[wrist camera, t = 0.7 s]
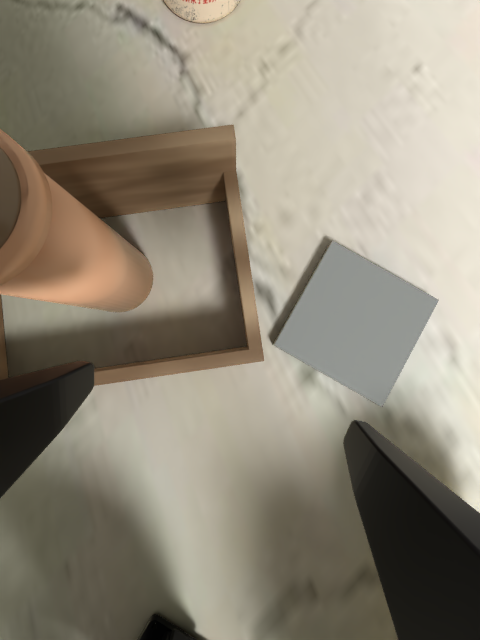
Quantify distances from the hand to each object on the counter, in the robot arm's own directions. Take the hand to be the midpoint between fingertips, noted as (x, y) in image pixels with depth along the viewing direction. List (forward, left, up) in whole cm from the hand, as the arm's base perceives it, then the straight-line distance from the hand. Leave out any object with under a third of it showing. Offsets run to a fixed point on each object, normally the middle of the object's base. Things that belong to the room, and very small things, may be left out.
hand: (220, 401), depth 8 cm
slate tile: (+9, -8, -14) cm, 18 cm away
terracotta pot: (+1, +13, -14) cm, 19 cm away
